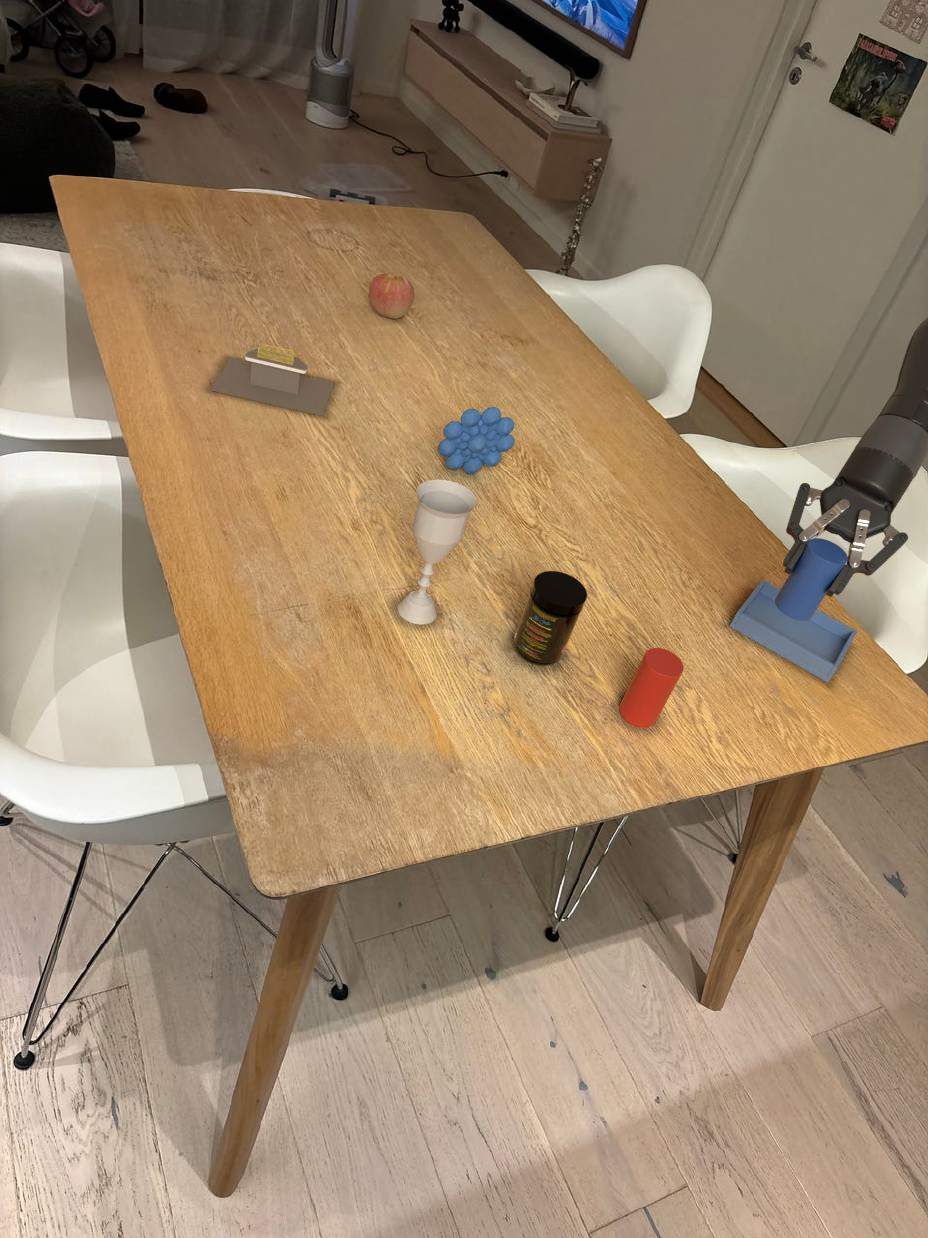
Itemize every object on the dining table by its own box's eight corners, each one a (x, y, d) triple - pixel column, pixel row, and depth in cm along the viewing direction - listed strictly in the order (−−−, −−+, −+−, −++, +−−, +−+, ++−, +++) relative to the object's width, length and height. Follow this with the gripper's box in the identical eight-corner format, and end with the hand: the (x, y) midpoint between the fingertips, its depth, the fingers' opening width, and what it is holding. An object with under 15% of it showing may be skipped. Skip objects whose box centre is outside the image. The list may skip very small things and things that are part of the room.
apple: (397, 328, 180) (405, 289, 174) (357, 312, 181) (364, 273, 176) (416, 316, 186) (424, 277, 181) (378, 300, 188) (384, 261, 182)
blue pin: (816, 609, 114) (852, 552, 108) (805, 626, 110) (842, 569, 105) (781, 589, 115) (814, 532, 109) (769, 606, 112) (803, 548, 106)
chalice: (397, 630, 114) (425, 514, 103) (383, 594, 119) (409, 479, 107) (451, 627, 117) (485, 513, 105) (436, 592, 122) (466, 479, 110)
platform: (229, 358, 156) (232, 321, 152) (334, 382, 158) (339, 347, 154) (211, 390, 147) (213, 352, 142) (322, 416, 149) (327, 379, 144)
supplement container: (559, 675, 115) (584, 613, 108) (507, 659, 115) (530, 596, 108) (564, 641, 120) (589, 580, 114) (515, 626, 120) (537, 564, 114)
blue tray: (848, 645, 134) (857, 631, 132) (827, 682, 126) (837, 668, 125) (754, 592, 139) (762, 578, 137) (729, 626, 131) (737, 611, 129)
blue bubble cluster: (500, 463, 150) (519, 398, 143) (505, 486, 145) (525, 420, 138) (430, 453, 148) (446, 386, 140) (433, 476, 143) (450, 408, 135)
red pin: (662, 713, 114) (690, 662, 108) (646, 734, 111) (674, 682, 105) (629, 693, 115) (654, 641, 110) (612, 712, 112) (638, 660, 106)
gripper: (832, 423, 108) (755, 545, 107) (950, 480, 103) (871, 607, 103) (823, 448, 115) (751, 561, 114) (933, 501, 110) (859, 620, 110)
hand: (808, 582), depth 108 cm, fingers closed on blue pin, 4 cm apart
